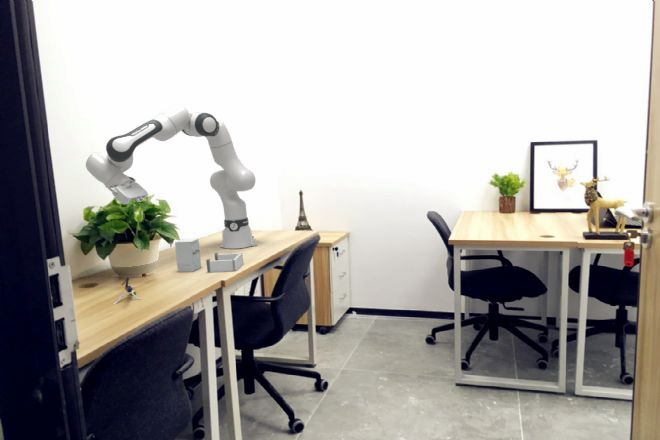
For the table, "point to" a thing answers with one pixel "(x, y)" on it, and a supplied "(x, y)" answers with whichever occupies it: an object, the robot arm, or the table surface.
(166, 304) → the table surface
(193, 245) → the supplement box
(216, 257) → the tray
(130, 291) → the figurine
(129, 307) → the table surface
